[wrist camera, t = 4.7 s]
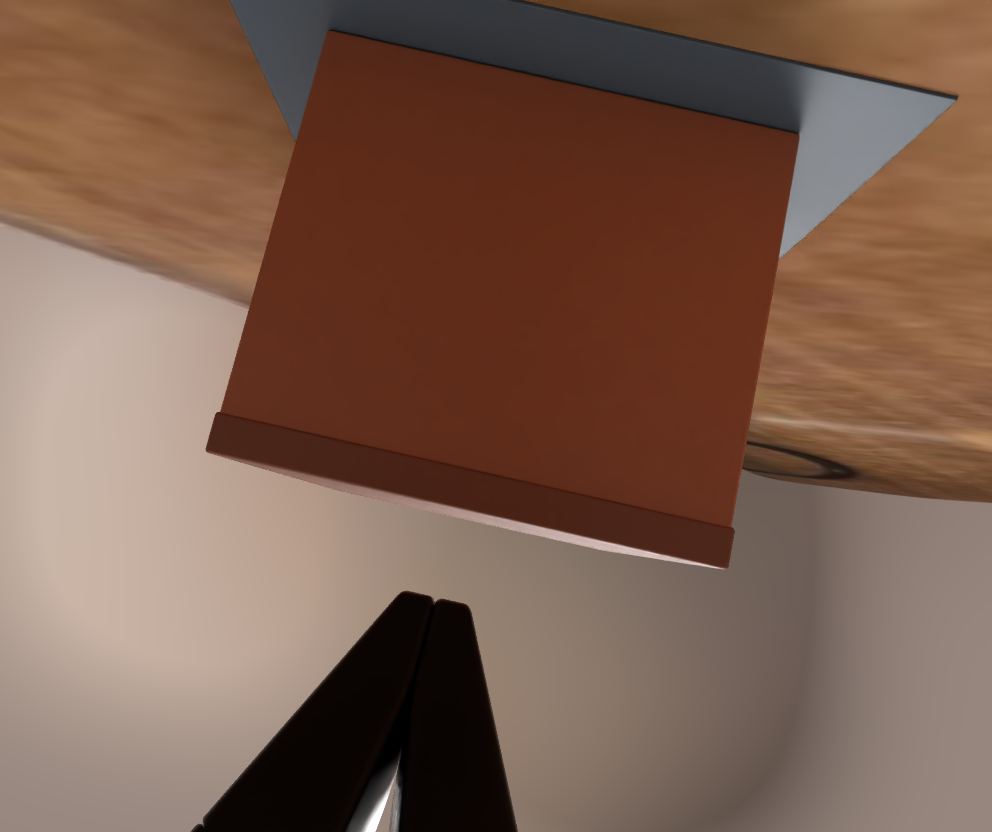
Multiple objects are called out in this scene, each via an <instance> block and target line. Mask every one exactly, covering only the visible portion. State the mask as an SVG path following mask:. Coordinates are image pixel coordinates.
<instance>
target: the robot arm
mask: <svg viewBox="0 0 992 832" xmlns="http://www.w3.org/2000/svg"><path fill="white" fill-rule="evenodd" d="M434 604H435V605H434ZM398 762H399V764H398ZM397 766H398V770H397ZM396 770H397V775H396V781H395V788H394V794H393V803H392V811H391V818H390V828H389V832H518V830H517V825H516V820H515V816H514V811H513V807H512V801H511V797H510V792H509V787H508V783H507V778H506V773H505V768H504V764H503V759H502V754H501V750H500V745H499V740H498V735H497V731H496V727H495V722H494V716H493V712H492V707H491V703H490V698H489V694H488V688H487V683H486V679H485V674H484V669H483V664H482V660H481V655H480V650H479V646H478V641H477V636H476V631H475V627H474V622H473V617H472V613H471V610H470V608H469V606H468V605H466V604H464V603H459V602H455V601H450V600H446V599H439V600H437V601H436V602H435V601H434V599H433V598H432V597H431V596H428V595H424V594H419V593H415V592H410V591H403V592H401V593H400V594H399V595H398V596H397V597H396V598H395V599H394V600H393V601H392V602H391V604H389V606H388V607H387V608H386V609H385V610H384V611H383V612H382V614H381V615H380V616H379V617H378V618H377V619H376V620H375V622H374V623H373V624H372V625H371V626H370V627H369V629H368V630H367V631H366V632H365V633H364V634H363V636H362V637H361V638H360V639H359V640H358V641H357V642H356V644H355V645H354V646H353V647H352V648H351V649H350V650H349V651H348V653H347V654H346V655H345V656H344V657H343V658H342V660H341V661H340V662H339V663H338V664H337V665H336V666H335V667H334V669H333V670H332V671H331V672H330V673H329V674H328V675H327V677H326V678H325V679H324V680H323V681H322V682H321V683H320V685H319V686H318V687H317V688H316V689H315V690H314V692H313V693H312V694H311V695H310V696H309V697H308V698H307V700H306V701H305V702H304V703H303V704H302V705H301V707H300V708H299V709H298V710H297V711H296V712H295V713H294V714H293V716H292V717H291V718H290V719H289V720H288V721H287V722H286V724H285V725H284V726H283V727H282V728H281V729H280V730H279V732H278V733H277V734H276V735H275V736H274V737H273V738H272V740H271V741H270V742H269V743H268V744H267V745H266V747H265V748H264V749H263V750H262V751H261V752H260V753H259V754H258V756H257V757H256V758H255V759H254V760H253V761H252V763H251V764H250V765H249V766H248V767H247V768H246V769H245V771H244V772H243V773H242V774H241V775H240V776H239V777H238V779H237V780H236V781H235V782H234V783H233V784H232V785H231V787H230V788H229V789H228V790H227V791H226V792H225V793H224V795H223V796H222V797H221V798H220V799H219V800H218V801H217V803H216V804H215V805H214V806H213V807H212V808H211V809H210V811H209V812H208V813H207V814H206V815H205V816H204V818H203V825H202V824H198V825H196V826H195V827H194V828H193V830H192V831H191V832H375V831H376V828H377V825H378V822H379V819H380V817H381V814H382V811H383V809H384V806H385V803H386V801H387V798H388V795H389V792H390V789H391V786H392V783H393V780H394V777H395V773H396Z"/></svg>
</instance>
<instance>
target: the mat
mask: <svg viewBox="0 0 992 832" xmlns="http://www.w3.org/2000/svg"><path fill="white" fill-rule="evenodd" d="M230 3H231V5H232V7H233V9H234V11H235V13H236V15H237V18H238V20H239V22H240V24H241V26H242V28H243V30H244V33H245V35H246V37H247V39H248V41H249V43H250V46H251V48H252V50H253V52H254V54H255V56H256V58H257V61H258V63H259V65H260V67H261V69H262V71H263V74H264V76H265V78H266V80H267V82H268V84H269V86H270V89H271V91H272V93H273V95H274V97H275V99H276V101H277V104H278V106H279V108H280V110H281V112H282V114H283V117H284V119H285V121H286V123H287V125H288V127H289V129H290V132H291V134H292V136H293V138H294V140H295V142H296V140H297V136H298V133H299V129H300V126H301V122H302V118H303V115H304V111H305V108H306V104H307V101H308V97H309V93H310V90H311V86H312V83H313V79H314V76H315V72H316V68H317V65H318V61H319V58H320V54H321V51H322V47H323V43H324V40H325V36H326V33H327V31H328V30H332V31H337V32H341V33H346V34H350V35H355V36H359V37H364V38H368V39H373V40H377V41H382V42H386V43H391V44H395V45H400V46H404V47H409V48H413V49H418V50H422V51H427V52H432V53H436V54H441V55H445V56H450V57H454V58H459V59H463V60H468V61H472V62H477V63H481V64H486V65H490V66H495V67H499V68H504V69H508V70H513V71H517V72H522V73H526V74H531V75H535V76H540V77H544V78H549V79H553V80H558V81H562V82H567V83H571V84H576V85H580V86H585V87H589V88H594V89H598V90H603V91H607V92H612V93H616V94H621V95H625V96H630V97H635V98H639V99H644V100H648V101H653V102H657V103H662V104H666V105H671V106H675V107H680V108H684V109H689V110H693V111H698V112H702V113H707V114H711V115H716V116H720V117H725V118H729V119H734V120H738V121H743V122H747V123H752V124H756V125H761V126H765V127H770V128H774V129H779V130H783V131H788V132H792V133H797V134H799V136H800V141H799V146H798V152H797V158H796V163H795V169H794V175H793V180H792V186H791V192H790V197H789V203H788V209H787V214H786V220H785V226H784V231H783V237H782V243H781V249H780V254H779V259H780V258H781V257H782V256H784V255H785V254H786V253H787V252H788V251H789V250H790V249H791V248H793V247H794V246H795V245H796V244H797V243H798V242H799V241H800V240H801V239H803V238H804V237H805V236H806V235H807V234H808V233H809V232H810V231H812V230H813V229H814V228H815V227H816V226H817V225H818V224H819V223H820V222H822V221H823V220H824V219H825V218H826V217H827V216H828V215H829V214H831V213H832V212H833V211H834V210H835V209H836V208H837V207H838V206H840V205H841V204H842V203H843V202H844V201H845V200H846V199H847V198H848V197H850V196H851V195H852V194H853V193H854V192H855V191H856V190H857V189H859V188H860V187H861V186H862V185H863V184H864V183H865V182H866V181H867V180H869V179H870V178H871V177H872V176H873V175H874V174H875V173H876V172H878V171H879V170H880V169H881V168H882V167H883V166H884V165H885V164H887V163H888V162H889V161H890V160H891V159H892V158H893V157H894V156H895V155H897V154H898V153H899V152H900V151H901V150H902V149H903V148H904V147H906V146H907V145H908V144H909V143H910V142H911V141H912V140H913V139H914V138H916V137H917V136H918V135H919V134H920V133H921V132H922V131H923V130H925V129H926V128H927V127H928V126H929V125H930V124H931V123H932V122H934V121H935V120H936V119H937V118H938V117H939V116H940V115H941V114H942V113H944V112H945V111H946V110H947V109H948V108H949V107H950V106H951V105H953V104H954V103H955V102H956V101H957V99H958V97H957V96H952V95H948V94H943V93H939V92H934V91H930V90H925V89H921V88H916V87H911V86H907V85H902V84H898V83H893V82H889V81H884V80H880V79H875V78H871V77H866V76H862V75H857V74H853V73H848V72H844V71H839V70H835V69H830V68H826V67H821V66H816V65H812V64H807V63H803V62H798V61H794V60H789V59H785V58H780V57H776V56H771V55H767V54H762V53H758V52H753V51H749V50H744V49H740V48H735V47H730V46H726V45H721V44H717V43H712V42H708V41H703V40H699V39H694V38H690V37H685V36H681V35H676V34H672V33H667V32H663V31H658V30H654V29H649V28H645V27H640V26H635V25H631V24H626V23H622V22H617V21H613V20H608V19H604V18H599V17H595V16H590V15H586V14H581V13H577V12H572V11H568V10H563V9H559V8H554V7H549V6H545V5H540V4H536V3H531V2H527V1H522V0H230Z"/></svg>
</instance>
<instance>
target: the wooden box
mask: <svg viewBox="0 0 992 832" xmlns="http://www.w3.org/2000/svg"><path fill="white" fill-rule="evenodd" d="M799 141H800V136H799V134H797V133H792V132H788V131H783V130H779V129H774V128H770V127H765V126H761V125H756V124H752V123H747V122H743V121H738V120H734V119H729V118H725V117H720V116H716V115H711V114H707V113H702V112H698V111H693V110H689V109H684V108H680V107H675V106H671V105H666V104H662V103H657V102H653V101H648V100H644V99H639V98H635V97H630V96H625V95H621V94H616V93H612V92H607V91H603V90H598V89H594V88H589V87H585V86H580V85H576V84H571V83H567V82H562V81H558V80H553V79H549V78H544V77H540V76H535V75H531V74H526V73H522V72H517V71H513V70H508V69H504V68H499V67H495V66H490V65H486V64H481V63H477V62H472V61H468V60H463V59H459V58H454V57H450V56H445V55H441V54H436V53H432V52H427V51H422V50H418V49H413V48H409V47H404V46H400V45H395V44H391V43H386V42H382V41H377V40H373V39H368V38H364V37H359V36H355V35H350V34H346V33H341V32H337V31H332V30H328V31H327V33H326V36H325V40H324V43H323V47H322V51H321V54H320V58H319V61H318V65H317V68H316V72H315V76H314V79H313V83H312V86H311V90H310V93H309V97H308V101H307V104H306V108H305V111H304V115H303V118H302V122H301V126H300V129H299V133H298V136H297V140H296V143H295V147H294V150H293V154H292V158H291V161H290V165H289V168H288V172H287V175H286V179H285V183H284V186H283V190H282V193H281V197H280V200H279V204H278V208H277V211H276V215H275V218H274V222H273V225H272V229H271V233H270V236H269V240H268V243H267V247H266V250H265V254H264V258H263V261H262V265H261V268H260V272H259V275H258V279H257V283H256V286H255V290H254V293H253V297H252V300H251V304H250V308H249V311H248V315H247V319H246V322H245V325H244V329H243V332H242V336H241V340H240V343H239V347H238V350H237V354H236V357H235V361H234V365H233V368H232V372H231V375H230V379H229V383H228V386H227V390H226V393H225V397H224V401H223V404H222V407H221V411H220V412H217V413H216V414H215V417H214V421H213V424H212V428H211V432H210V435H209V439H208V442H207V446H206V452H208V453H210V454H214V455H217V456H221V457H224V458H228V459H231V460H234V461H238V462H241V463H245V464H248V465H252V466H255V467H259V468H262V469H265V470H269V471H272V472H276V473H279V474H283V475H287V476H290V477H293V478H296V479H300V480H304V481H307V482H310V483H314V484H317V485H321V486H325V487H328V488H331V489H334V490H338V491H342V492H347V493H351V494H356V495H360V496H365V497H369V498H373V499H378V500H382V501H387V502H391V503H395V504H400V505H404V506H409V507H413V508H418V509H423V510H427V511H431V512H436V513H440V514H444V515H449V516H453V517H457V518H462V519H466V520H471V521H475V522H480V523H484V524H489V525H493V526H497V527H502V528H506V529H511V530H515V531H519V532H524V533H529V534H533V535H537V536H542V537H547V538H551V539H555V540H559V541H564V542H568V543H573V544H577V545H582V546H586V547H591V548H595V549H600V550H604V551H610V552H616V553H623V554H629V555H635V556H642V557H648V558H655V559H661V560H667V561H674V562H680V563H686V564H693V565H699V566H705V567H712V568H719V569H727V568H728V567H729V561H730V556H731V555H730V554H731V550H732V544H733V538H734V533H735V531H734V529H733V528H732V521H733V515H734V510H735V504H736V498H737V493H738V487H739V481H740V475H741V470H742V464H743V459H744V453H745V447H746V442H747V436H748V430H749V425H750V419H751V413H752V408H753V402H754V396H755V391H756V385H757V379H758V374H759V368H760V362H761V356H762V351H763V345H764V339H765V334H766V328H767V322H768V317H769V311H770V305H771V300H772V294H773V288H774V283H775V277H776V271H777V266H778V260H779V254H780V249H781V243H782V237H783V231H784V226H785V220H786V214H787V209H788V203H789V197H790V192H791V186H792V180H793V175H794V169H795V163H796V158H797V152H798V146H799Z"/></svg>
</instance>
